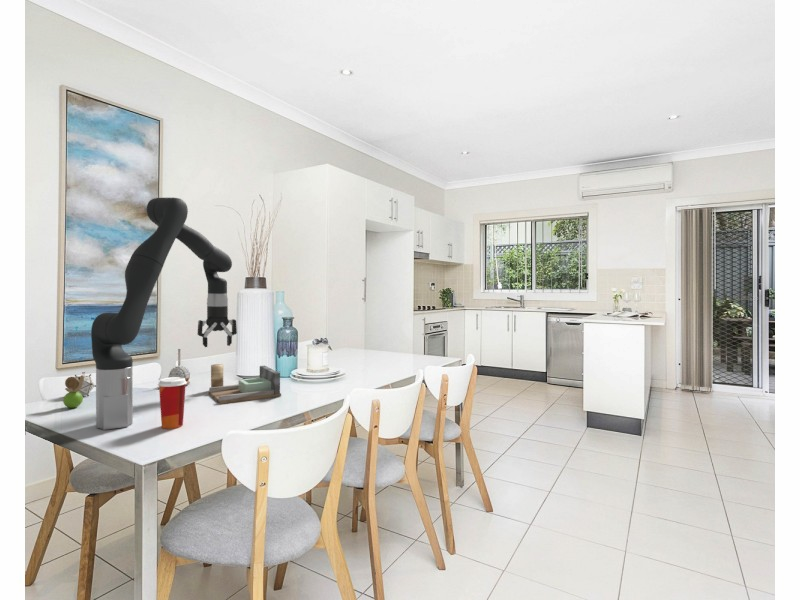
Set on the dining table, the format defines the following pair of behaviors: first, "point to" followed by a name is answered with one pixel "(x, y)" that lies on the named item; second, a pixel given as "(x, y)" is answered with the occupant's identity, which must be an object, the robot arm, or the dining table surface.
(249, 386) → the green square tray
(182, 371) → the decorative ornament
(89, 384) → the spiky polyhedron ball
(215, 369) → the dowel
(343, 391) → the dining table surface
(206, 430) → the dining table surface
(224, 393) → the track
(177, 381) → the paper cup
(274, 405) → the dining table surface
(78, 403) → the snail figurine
